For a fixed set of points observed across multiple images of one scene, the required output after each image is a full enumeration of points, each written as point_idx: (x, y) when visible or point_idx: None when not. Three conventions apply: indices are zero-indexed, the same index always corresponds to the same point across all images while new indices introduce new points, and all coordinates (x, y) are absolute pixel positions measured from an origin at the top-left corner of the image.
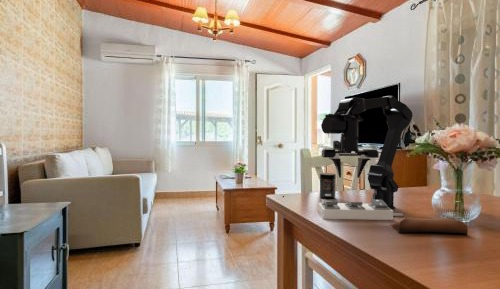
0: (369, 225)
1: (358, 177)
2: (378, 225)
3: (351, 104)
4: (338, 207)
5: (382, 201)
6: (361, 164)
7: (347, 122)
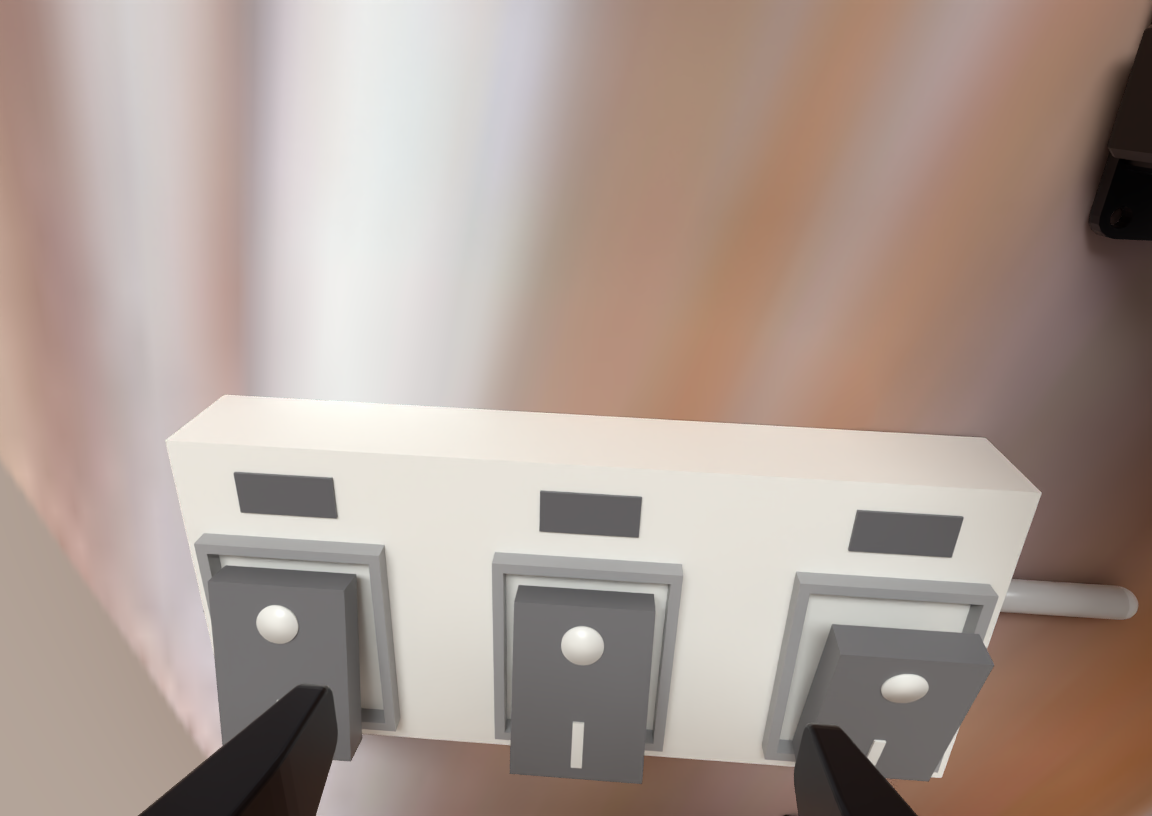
0: (615, 808)
1: (802, 784)
2: (687, 811)
3: None
4: (379, 726)
5: (953, 706)
6: None
7: None
